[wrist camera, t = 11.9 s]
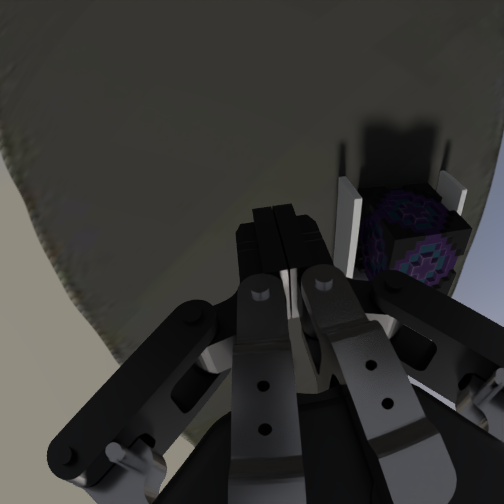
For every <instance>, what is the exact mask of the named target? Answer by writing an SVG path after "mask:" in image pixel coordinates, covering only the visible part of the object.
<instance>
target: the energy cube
mask: <svg viewBox="0 0 504 504" xmlns="http://www.w3.org/2000/svg"><path fill="white" fill-rule="evenodd" d="M358 193H359V195H360V196H361V197H362V207H361V216H360V225H359V233H358V241H357V249H356V256H355V264H356V266H357V268H358V270H359V272H360V273H364V272H365V274H366V276H367V278H368V280H369V281H373V279H374V277H375V276H376V275H377V274H378V273H379V272H381V271H384V270H398V271H401V272H403V273H405V274H407V275H409V276H411V277H413V278H415V279H417V280H419V281H421V282H422V283H424V284H426V285H428V286H430V287H432V288H434V289H436V290H438V291H439V292H441V293H443V294H445V295H447V294H448V292H449V290H450V287H451V285H452V283H453V280H454V278H455V275H456V272H455V271H454V270H453V268H454V265H455V263H456V260H457V257H458V256H460V255H463V254H464V251H465V249H466V246H467V243H468V240H469V237H470V234H471V231H472V228H471V227H470V226H469V224H468V223H467V222H466V221H465V220H464V219H463V218H462V217H461V216H460V215H459V214H458V213H457V212H456V211H455V210H451V211H449V210H448V209H447V208H446V207H445V206H444V205H443V204H442V203H441V202H442V197H441V196H440V195H439V194H438V193H437V192H436V191H435V190H434V189H433V188H432V187H431V186H430V185H429V184H428V183H426V184H412V185H404V188H403V189H402V190H390V191H389V190H388V189H387V188H386V187H375V188H364V189H358Z"/></svg>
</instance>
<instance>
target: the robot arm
mask: <svg viewBox="0 0 504 504" xmlns="http://www.w3.org/2000/svg"><path fill="white" fill-rule="evenodd" d="M252 211H253V219H254V222H251V223H245V224H240V226H239V228H238V230H237V232H236V243H237V254H238V265H239V276H240V285H239V287H238V290H237V291H236V293H235V294H234V295H233V296H232V297H230V298H229V299H227V300H226V301H224V302H221V303H219V304H216V305H214V306H212V305H211V304H210V303H208V302H207V301H204V300H190V301H187V302H184V303H182V304H181V305H179V306H178V307H177V308H176V309H175V310H174V311H173V312H172V313H171V314H170V315H169V316H168V317H167V318H166V319H165V320H164V321H163V322H162V323H161V324H160V325H159V327H158V328H157V329H156V330H155V331H154V332H153V333H152V334H151V335H150V336H149V337H148V338H147V339H146V340H145V341H144V342H143V343H142V344H141V345H140V347H139V348H138V349H137V350H136V351H135V352H134V353H133V354H132V355H131V356H130V357H129V358H128V359H127V360H126V361H125V362H124V363H123V365H122V366H121V367H120V368H119V369H118V370H117V371H116V372H115V373H114V374H113V375H112V376H111V377H110V379H108V381H107V382H106V383H105V384H104V385H103V386H102V387H101V388H100V389H99V390H98V391H97V392H96V393H95V394H94V395H93V397H92V398H91V399H90V400H89V401H88V402H87V403H86V404H85V405H84V406H83V407H82V408H81V410H80V411H79V412H78V413H77V414H76V415H75V416H74V417H73V418H72V419H71V420H70V421H69V423H68V424H67V425H66V426H65V427H64V428H63V429H62V430H61V431H60V432H59V433H58V435H57V436H56V437H55V438H54V439H53V440H52V441H51V443H50V445H49V447H48V451H47V462H48V465H49V468H50V469H51V471H52V472H53V473H54V474H55V475H56V476H57V477H59V478H61V479H63V480H66V481H68V482H70V483H73V484H74V485H76V486H78V487H81V488H83V489H84V490H85V491H86V492H87V493H88V494H89V495H90V496H91V497H92V498H93V499H94V500H95V501H96V503H97V504H504V327H502V326H500V325H499V324H497V323H495V322H493V321H492V320H490V319H488V318H487V317H485V316H483V315H481V314H479V313H478V312H476V311H474V310H472V309H471V308H469V307H467V306H465V305H463V304H461V303H459V302H458V301H456V300H454V299H452V298H451V297H449V296H447V295H445V294H443V293H441V292H439V291H438V290H436V289H434V288H432V287H430V286H428V285H426V284H424V283H422V282H421V281H419V280H417V279H415V278H413V277H411V276H409V275H407V274H405V273H403V272H401V271H398V270H384V271H381V272H379V273H378V274H377V275H376V276H375V277H374V279H373V281H365V280H355V279H351V278H348V277H346V276H345V274H344V273H343V272H342V271H341V270H340V269H339V268H337V267H335V266H334V263H333V261H332V259H331V256H330V254H329V251H328V249H327V247H326V244H325V242H324V240H323V237H322V235H321V233H320V231H319V228H318V226H317V224H316V221H314V220H313V219H312V218H311V217H309V216H308V215H300V216H296V214H295V211H294V209H293V206H292V204H284V205H277V206H272V208H271V207H264V208H257V209H252ZM290 310H291V315H292V318H295V317H300V321H301V325H302V338H303V341H304V344H305V347H306V350H307V353H308V356H309V359H310V362H311V365H312V369H313V372H314V375H315V378H316V382H317V388H318V394H303V393H296V386H295V377H294V367H293V358H292V349H291V341H290V338H289V330H288V319H290ZM404 324H405V325H406V326H405V325H404ZM407 326H408V327H407ZM409 327H410V328H412V329H413V330H412V329H410V328H409ZM414 330H415V331H414ZM416 331H417V332H418V333H417V332H416ZM419 333H420V334H419ZM421 334H422V335H424V336H425V337H424V336H422V335H421ZM426 337H427V338H426ZM428 338H429V339H430V340H429V339H428ZM431 340H432V341H431ZM231 368H232V406H231V411H230V412H229V413H227V414H226V415H224V416H222V417H221V418H220V419H219V420H218V421H216V422H215V423H214V424H213V425H212V426H211V427H210V428H209V430H208V431H207V432H206V434H205V435H204V436H203V438H202V439H201V440H200V442H199V443H198V445H197V446H196V447H195V449H194V450H193V451H192V453H191V454H190V455H189V457H188V458H187V459H186V460H185V462H184V463H183V464H182V466H181V467H180V468H179V470H178V471H177V472H176V474H175V475H174V476H173V477H172V479H171V480H170V481H169V482H168V484H167V485H166V486H165V488H164V489H163V490H162V491H161V493H160V494H159V488H160V486H161V484H162V482H163V480H164V479H165V476H166V472H167V466H166V462H165V460H164V458H163V454H164V453H165V452H166V451H167V450H168V449H169V447H170V446H171V445H172V444H173V442H174V441H175V440H176V439H177V438H178V437H179V435H180V434H181V433H182V432H183V431H184V429H185V428H186V427H187V426H188V424H189V423H190V422H191V421H192V419H193V418H194V417H195V416H196V415H197V413H198V412H199V411H200V410H201V408H202V407H203V406H204V405H205V403H206V402H207V401H208V400H209V398H210V397H211V396H212V394H213V393H214V392H215V391H216V389H217V388H218V387H219V386H220V384H221V383H222V382H223V380H224V379H225V378H226V377H227V375H228V374H229V372H230V371H231ZM406 374H407V375H409V376H410V377H412V378H414V379H415V380H417V381H419V382H420V383H422V384H423V385H425V386H427V387H428V388H430V389H432V390H433V391H435V392H437V393H438V394H440V395H441V396H443V397H445V398H446V399H448V400H450V401H451V402H453V403H455V407H456V411H455V410H453V409H452V408H450V407H449V406H447V405H445V404H444V403H443V402H441V401H439V400H438V399H437V398H435V397H433V396H432V395H430V394H429V393H427V392H426V391H424V390H423V389H421V388H420V387H418V386H416V385H413V384H411V383H410V381H409V379H408V377H407V375H406Z"/></svg>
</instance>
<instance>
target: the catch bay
mask: <svg viewBox="0 0 504 504" xmlns="http://www.w3.org/2000/svg"><path fill="white" fill-rule="evenodd" d="M436 192H437V193H438V194H439V195H440V196H441V197H442V202H441V203H442V204H443V205H444V206H445V207H446V208H447V209H448V210H449V211H451V210H455V211H456V212H457V213H458V214H459V215H460V216H461V212H462V209H463V205H464V201H465V197H466V193H467V189H466V188H465V187H464V186H463V185H461V184H460V183H459V182H458V181H457V180H456V179H455V178H453V177H452V176H451V175H450V174H449V173H447V172H446V171H440V175H439V180H438V185H437V190H436ZM361 207H362V197H361V196H360V195H359V193H358V192H357V191H356V189H355V188H354V187H353V185H352V184H351V183H350V181H349V180H348V179H347V177H346V176H344V177H339V181H338V202H337V219H336V234H335V247H334V259H333V263H334V266H335V267H337V268H339V269H340V270H341V271H342V272H343V273H344V274H345V276H346V277H348V278H351V279H355V280H365V281H369V280H368V278H367V276H366V274H365V272H364V273H360V272H359V270H358V268H354V263H355V256H356V249H357V241H358V233H359V225H360V216H361Z"/></svg>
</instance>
